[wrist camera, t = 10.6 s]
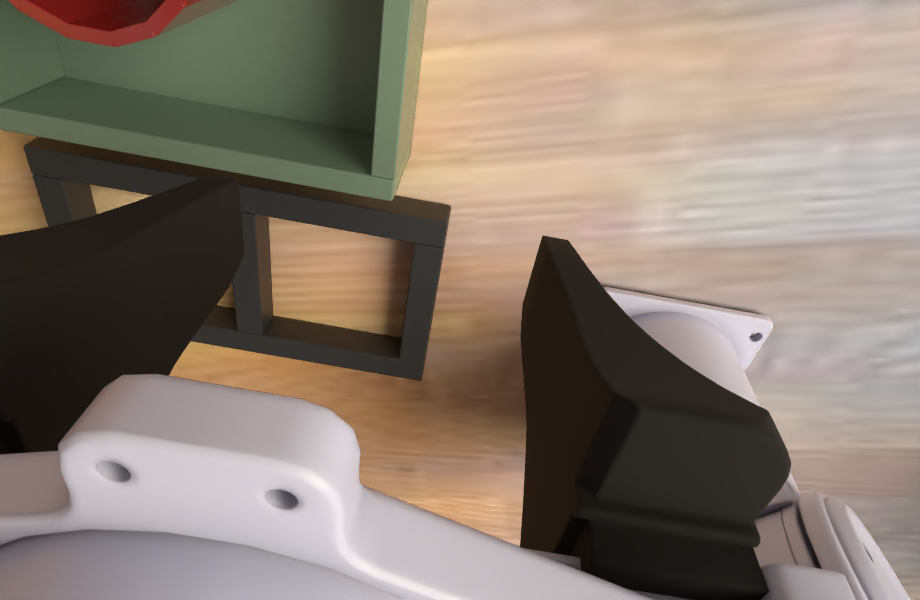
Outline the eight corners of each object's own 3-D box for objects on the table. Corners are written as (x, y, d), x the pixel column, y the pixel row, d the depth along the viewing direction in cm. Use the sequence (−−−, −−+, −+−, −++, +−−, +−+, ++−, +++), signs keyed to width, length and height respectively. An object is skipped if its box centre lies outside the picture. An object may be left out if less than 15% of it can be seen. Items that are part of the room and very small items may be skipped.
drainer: (425, 360, 29) (421, 381, 27) (97, 303, 28) (78, 322, 27) (451, 205, 23) (448, 222, 22) (47, 131, 23) (22, 145, 22)
